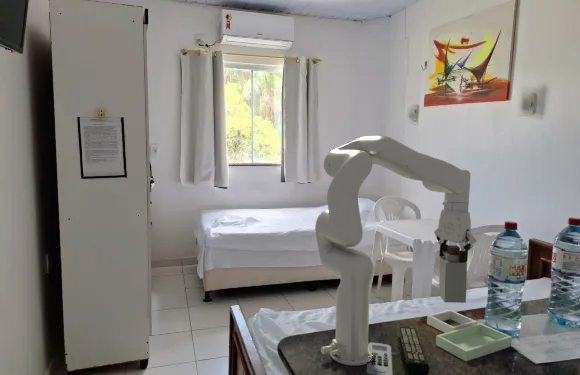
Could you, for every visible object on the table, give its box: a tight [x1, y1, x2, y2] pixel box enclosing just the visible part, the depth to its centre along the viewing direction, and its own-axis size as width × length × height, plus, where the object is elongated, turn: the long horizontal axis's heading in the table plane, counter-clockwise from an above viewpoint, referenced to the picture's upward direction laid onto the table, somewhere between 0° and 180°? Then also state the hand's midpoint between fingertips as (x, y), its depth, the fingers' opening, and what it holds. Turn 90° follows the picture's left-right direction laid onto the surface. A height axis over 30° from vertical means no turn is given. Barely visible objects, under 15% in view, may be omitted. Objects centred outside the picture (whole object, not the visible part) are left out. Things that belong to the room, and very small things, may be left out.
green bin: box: [435, 323, 513, 362], centre depth 126 cm, size 20×11×3 cm, turn 117°
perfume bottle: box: [438, 244, 468, 304], centre depth 137 cm, size 7×7×18 cm
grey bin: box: [426, 309, 478, 334], centre depth 139 cm, size 11×11×3 cm
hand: (453, 258), depth 137 cm, fingers closed on perfume bottle, 7 cm apart
